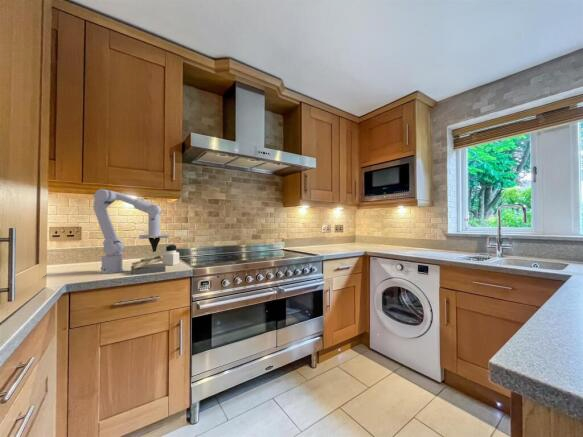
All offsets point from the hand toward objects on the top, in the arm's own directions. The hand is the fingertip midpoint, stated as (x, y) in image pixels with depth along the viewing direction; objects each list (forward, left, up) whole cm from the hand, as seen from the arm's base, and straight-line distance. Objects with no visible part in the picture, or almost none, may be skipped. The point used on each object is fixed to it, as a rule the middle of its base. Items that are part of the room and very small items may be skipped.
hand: (154, 251), depth 142 cm
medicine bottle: (+11, +15, -11) cm, 21 cm away
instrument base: (-3, 0, -10) cm, 11 cm away
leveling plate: (-3, 0, -6) cm, 7 cm away
